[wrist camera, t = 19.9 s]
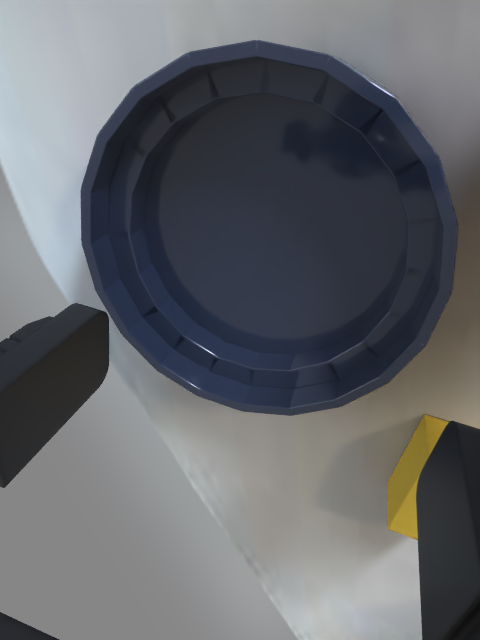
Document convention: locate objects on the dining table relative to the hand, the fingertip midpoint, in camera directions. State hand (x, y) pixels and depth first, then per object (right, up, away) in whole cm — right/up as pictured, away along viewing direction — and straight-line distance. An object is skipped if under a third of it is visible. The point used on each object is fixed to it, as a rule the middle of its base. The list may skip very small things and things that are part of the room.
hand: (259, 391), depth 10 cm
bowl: (+1, +7, +16) cm, 17 cm away
